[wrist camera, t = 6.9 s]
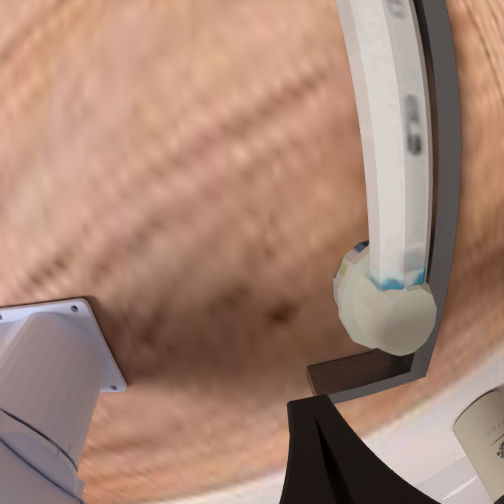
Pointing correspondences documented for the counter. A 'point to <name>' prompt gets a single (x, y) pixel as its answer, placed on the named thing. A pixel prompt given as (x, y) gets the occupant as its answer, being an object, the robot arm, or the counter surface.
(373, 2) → the white handheld device
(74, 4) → the counter surface
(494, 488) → the travel mug
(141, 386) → the counter surface
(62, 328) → the robot arm
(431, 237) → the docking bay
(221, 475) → the counter surface
